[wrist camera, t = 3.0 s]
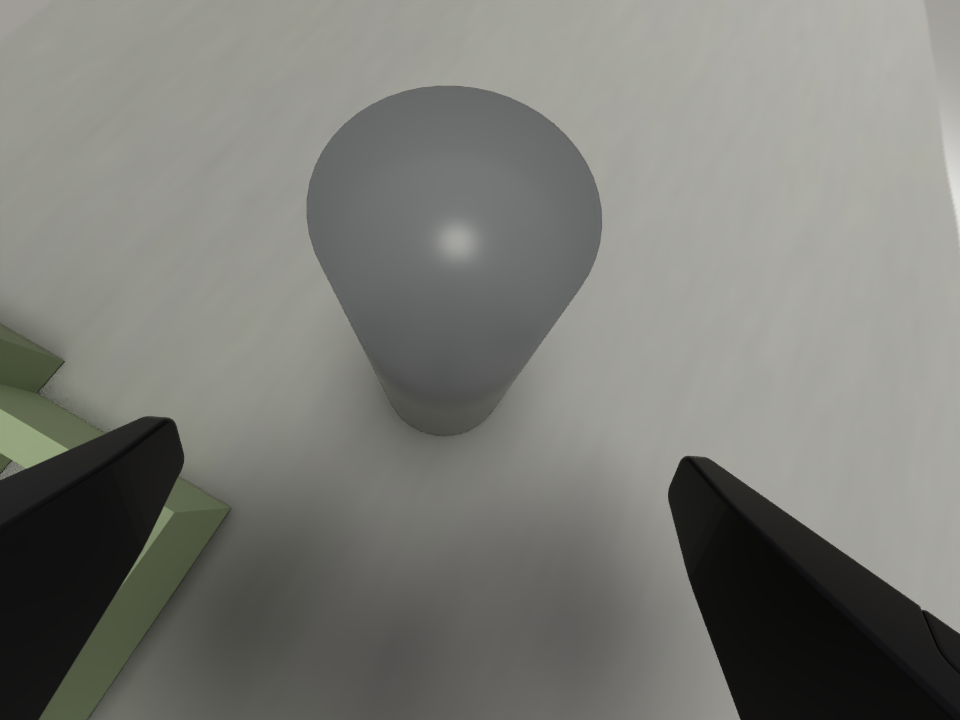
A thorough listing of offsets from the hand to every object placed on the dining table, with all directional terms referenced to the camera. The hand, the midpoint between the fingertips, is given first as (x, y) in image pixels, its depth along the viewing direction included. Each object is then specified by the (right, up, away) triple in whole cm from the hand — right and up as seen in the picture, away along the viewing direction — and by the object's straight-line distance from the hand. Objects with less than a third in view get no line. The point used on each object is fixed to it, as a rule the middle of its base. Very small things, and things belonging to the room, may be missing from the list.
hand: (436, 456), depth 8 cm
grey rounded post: (-1, +1, +12) cm, 12 cm away
